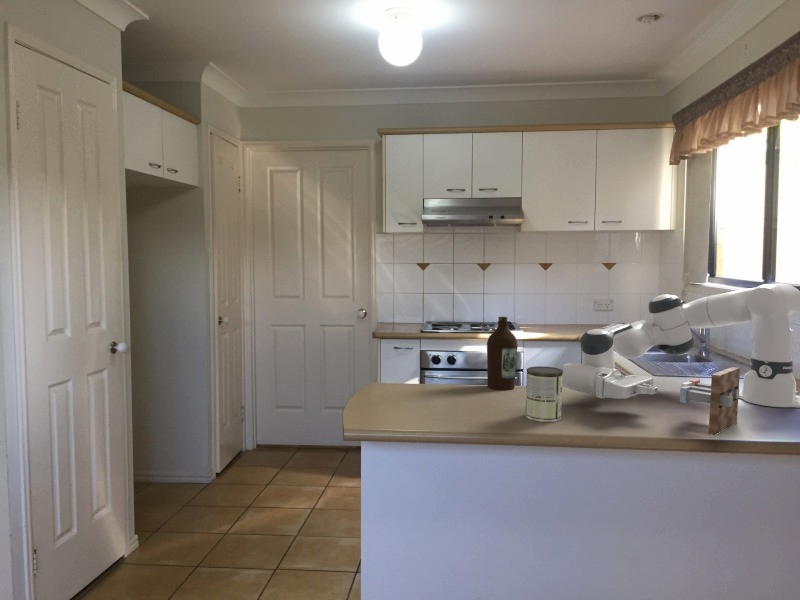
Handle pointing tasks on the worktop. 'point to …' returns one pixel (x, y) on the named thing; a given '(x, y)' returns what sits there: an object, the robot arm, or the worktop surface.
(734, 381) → the walnut panel
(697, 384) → the brick-red plunger
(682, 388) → the blue-capped grey rod
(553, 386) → the coffee can
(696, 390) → the off-white plunger
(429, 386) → the worktop surface
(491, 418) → the worktop surface
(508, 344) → the olive oil
